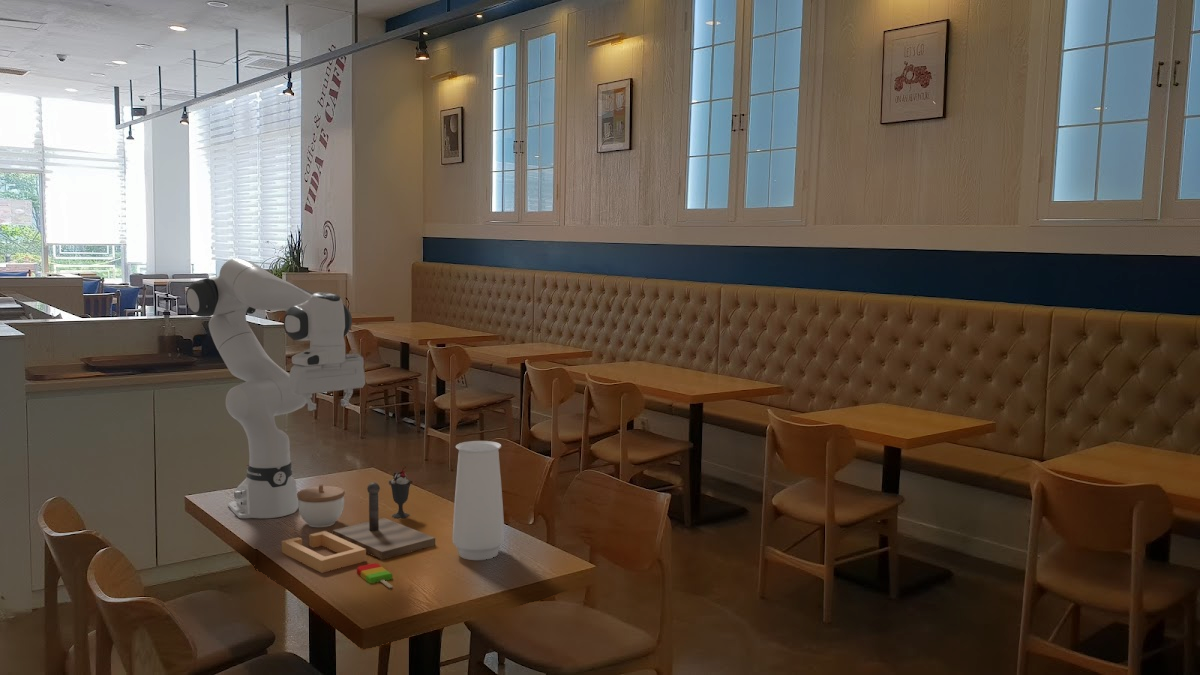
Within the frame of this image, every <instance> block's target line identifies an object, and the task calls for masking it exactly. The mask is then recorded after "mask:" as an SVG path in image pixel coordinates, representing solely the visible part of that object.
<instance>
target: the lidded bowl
mask: <svg viewBox="0 0 1200 675" xmlns="http://www.w3.org/2000/svg"><path fill="white" fill-rule="evenodd" d="M345 494H346V493H345V489H344V488H343V487H339V486H333V485H324V484H318V486H311V487H306V488H304V489H301V490H299V491H297V498H298V511H299V515H300V516H301V519H302V520H303V521H304V522H305V523H306V524H307V525H308V527H311V528H327V527H331V526H333V525H335V524H336V522H337V520H339V518H340V517H341V516H342V513H343V510H344V505H345Z"/></svg>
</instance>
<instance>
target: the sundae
mask: <svg viewBox="0 0 1200 675" xmlns="http://www.w3.org/2000/svg"><path fill="white" fill-rule="evenodd" d="M406 468H407V466H406V465H404V466H403V468H402V469H401V470H400V471H399V472H394V473H393V476H392V477H393V478H392V480H388V485H389V486H391V493H392V499H393V502H394V503H396V504H397V505H398V510H397V513H394V514H392V515H391V517H392V518H393V517H394V518H393V519H398V518H401V519H407V518H409V517H410V513H407V512H406V513H405V511H404V508H403V506H404V504H405V503H406V502H407V501H408V498H409V494H410V493H409V492H410V488H411V484H412V483H413V481H412V480H411V479H408V476H407V474H406V473H405V469H406ZM408 516H409V517H408ZM406 517H407V518H406Z"/></svg>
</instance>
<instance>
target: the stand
mask: <svg viewBox="0 0 1200 675" xmlns="http://www.w3.org/2000/svg"><path fill="white" fill-rule="evenodd" d="M380 489H381V487H380V485H379V484H378V483H377V482H370V483H369V484H368V485H367V493H368V519H369V520H368V521H365V522H361V523H356V524H352V525H349V526H344V527H339V528H336V529H332V530H331V534H333V535H335V536H338V537H340V538H342V539H344V540H347V541H349V542H351V543H353V544H355V545H358V546H360V547H362V548H364V549H366V552H367V553H366V554H368V553H369V554H368V555H371V554H372V555H371V556H373V555H374V556H373V557H375V556H376V557H375V558H377V557H378V559H379V558H380V560H382V559H383V560H386V559H385V558H387V559H390V558H394V557H398V556H401V555H404V553H405V554H407V553H408V552H409V553H411V551H412V552H415V550H416V551H419V550H418V549H420V550H423V549H422V548H424V549H427V548H430V546H431V547H434V545H435V546H436V537H434V536H432V535H429V534H427V533H424V532H422V531H419V530H417V529H414V528H412V527H409V526H406V525H404V524H401V523H398V522H395V521H393V520H391V519H388V518H386V517H382V518H379V492H380ZM400 554H401V555H400ZM397 555H398V556H397ZM393 556H394V557H393ZM389 557H390V558H389Z"/></svg>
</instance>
